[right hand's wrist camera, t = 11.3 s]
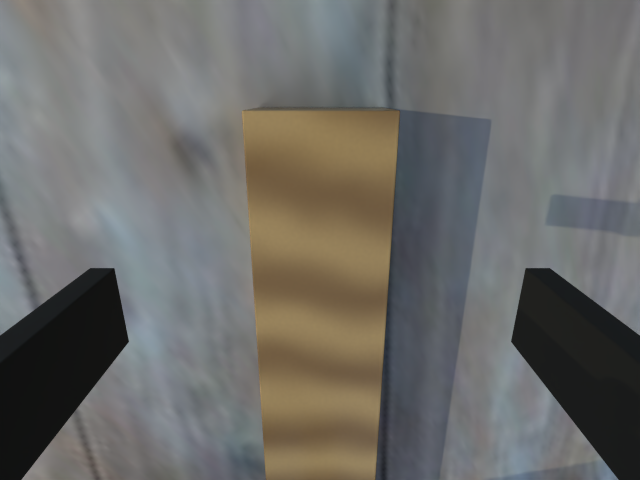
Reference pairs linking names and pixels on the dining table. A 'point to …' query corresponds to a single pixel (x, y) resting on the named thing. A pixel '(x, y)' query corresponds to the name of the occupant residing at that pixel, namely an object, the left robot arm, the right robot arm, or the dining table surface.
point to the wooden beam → (320, 282)
